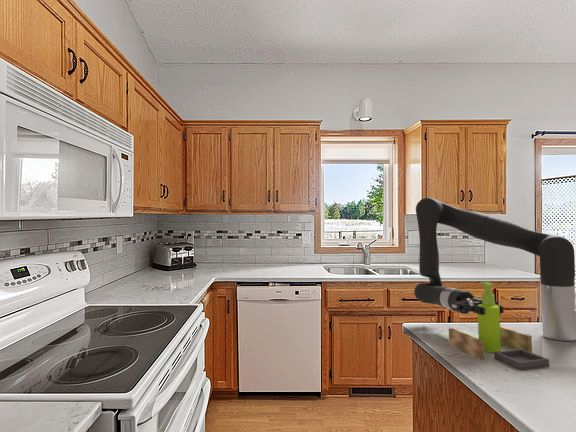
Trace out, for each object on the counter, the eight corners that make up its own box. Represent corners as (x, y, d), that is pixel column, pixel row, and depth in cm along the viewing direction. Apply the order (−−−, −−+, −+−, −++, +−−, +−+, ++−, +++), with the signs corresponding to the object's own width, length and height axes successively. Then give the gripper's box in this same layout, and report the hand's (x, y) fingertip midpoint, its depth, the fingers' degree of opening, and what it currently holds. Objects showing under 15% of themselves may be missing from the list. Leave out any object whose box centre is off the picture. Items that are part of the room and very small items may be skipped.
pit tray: (494, 358, 109) (494, 352, 109) (521, 355, 111) (521, 348, 111) (520, 370, 100) (520, 363, 100) (549, 366, 102) (548, 359, 102)
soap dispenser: (494, 345, 120) (492, 280, 121) (504, 352, 114) (502, 284, 114) (474, 344, 121) (472, 280, 121) (483, 352, 114) (481, 284, 115)
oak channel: (449, 344, 122) (448, 328, 122) (496, 339, 126) (495, 324, 126) (480, 359, 108) (479, 341, 109) (532, 353, 112) (531, 335, 113)
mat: (433, 334, 134) (433, 332, 134) (466, 330, 137) (466, 329, 137) (454, 343, 123) (454, 342, 123) (489, 339, 126) (489, 338, 126)
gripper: (437, 290, 130) (471, 299, 114) (474, 287, 133) (513, 296, 117) (438, 312, 130) (472, 325, 113) (475, 309, 133) (514, 321, 117)
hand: (493, 310), depth 115 cm, fingers closed on soap dispenser, 6 cm apart
